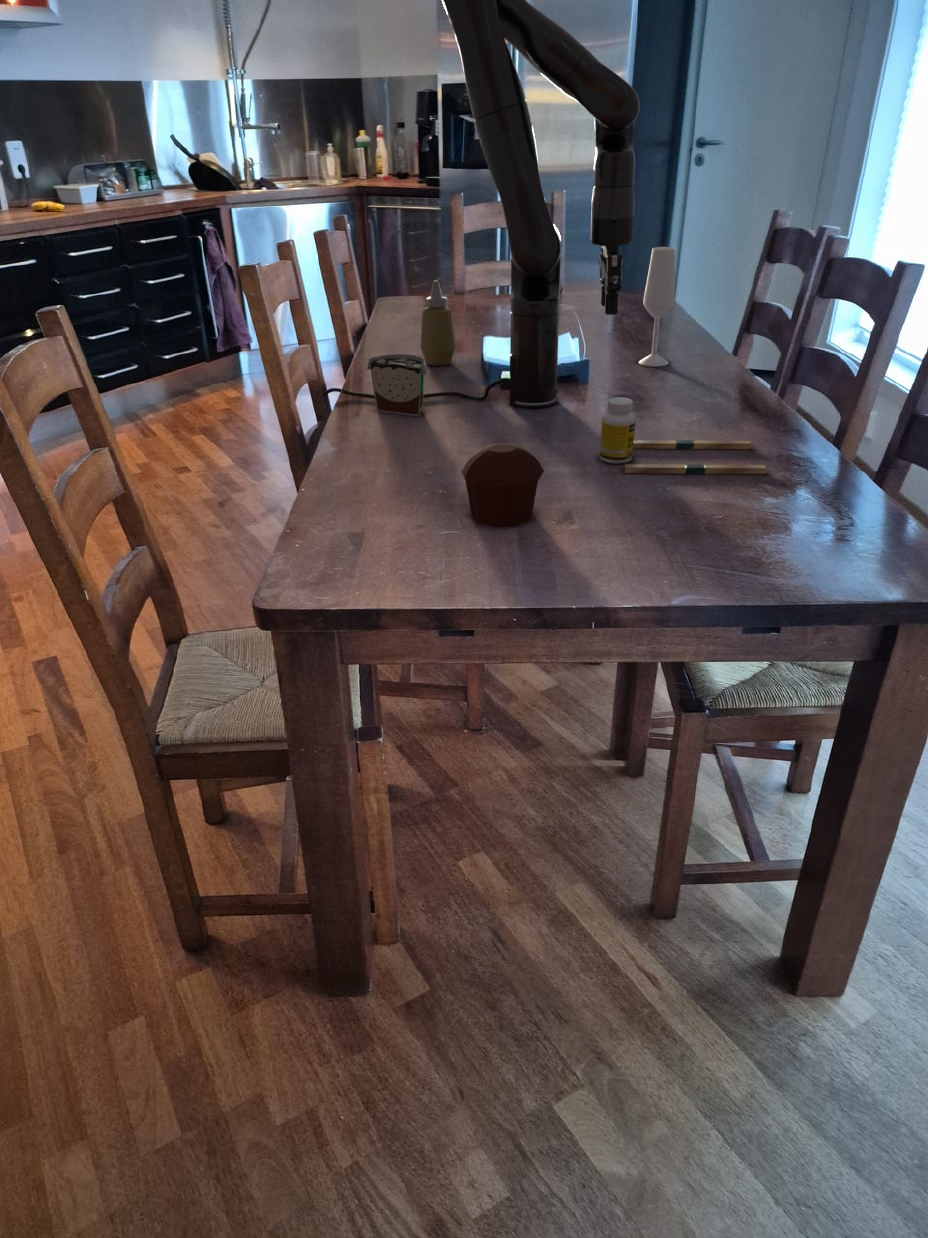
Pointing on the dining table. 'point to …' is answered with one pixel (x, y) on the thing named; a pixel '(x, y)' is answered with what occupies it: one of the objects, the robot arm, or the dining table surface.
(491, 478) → the muffin
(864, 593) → the dining table surface
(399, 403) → the food container
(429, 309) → the squeeze bottle
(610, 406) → the supplement bottle
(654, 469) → the lane
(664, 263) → the champagne flute
